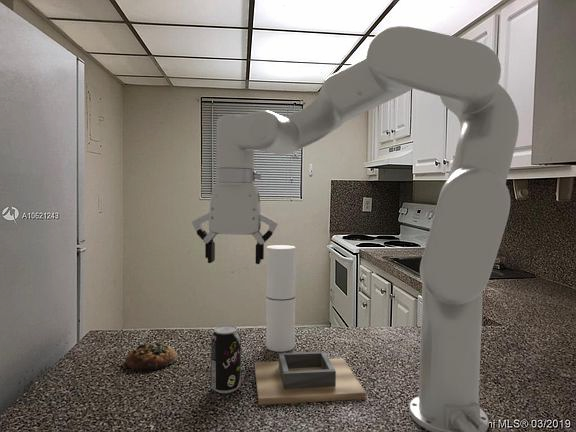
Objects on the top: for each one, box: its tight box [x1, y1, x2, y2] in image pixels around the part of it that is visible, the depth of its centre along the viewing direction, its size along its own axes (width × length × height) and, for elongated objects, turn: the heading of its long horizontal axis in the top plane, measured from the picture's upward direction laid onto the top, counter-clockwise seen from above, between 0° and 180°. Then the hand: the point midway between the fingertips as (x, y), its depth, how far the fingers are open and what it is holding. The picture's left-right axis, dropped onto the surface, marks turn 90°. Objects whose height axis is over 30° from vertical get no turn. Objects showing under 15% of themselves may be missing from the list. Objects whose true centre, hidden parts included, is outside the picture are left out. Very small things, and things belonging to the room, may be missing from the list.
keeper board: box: [254, 350, 366, 406], centre depth 84 cm, size 16×20×4 cm
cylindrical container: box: [265, 244, 296, 353], centre depth 103 cm, size 7×7×25 cm
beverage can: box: [210, 324, 242, 394], centre depth 80 cm, size 6×6×12 cm
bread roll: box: [125, 342, 178, 372], centre depth 94 cm, size 11×11×5 cm
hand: (234, 262), depth 84 cm, fingers open, 9 cm apart
